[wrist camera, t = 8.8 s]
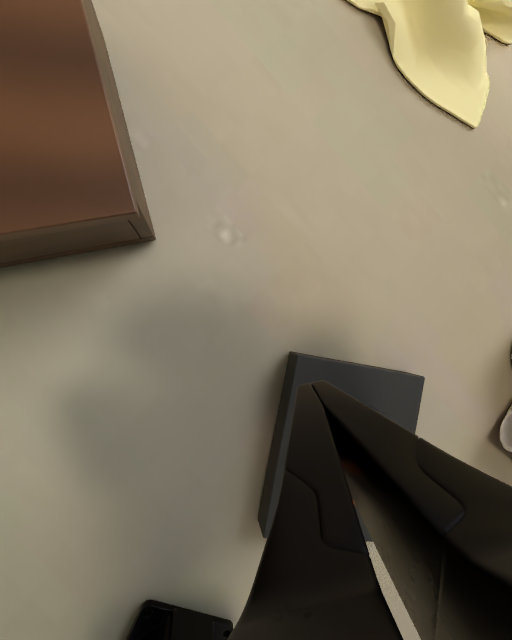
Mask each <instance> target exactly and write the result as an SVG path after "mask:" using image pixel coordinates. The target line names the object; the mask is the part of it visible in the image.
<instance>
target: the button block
mask: <svg viewBox="0 0 512 640" xmlns="http://www.w3.org/2000/svg"><path fill="white" fill-rule="evenodd" d="M424 379H425V378H424V377H423V376H419V375H415V374H411V373H407V372H402V371H396V370H390V369H385V368H379V367H374V366H368V365H363V364H357V363H352V362H346V361H340V360H335V359H329V358H324V357H318V356H313V355H307V354H302V353H296V352H290V353H289V358H288V363H287V368H286V373H285V379H284V384H283V389H282V395H281V400H280V405H279V410H278V416H277V421H276V426H275V432H274V437H273V442H272V448H271V453H270V458H269V463H268V469H267V474H266V479H265V485H264V490H263V495H262V501H261V506H260V511H259V516H258V522H259V525H260V528H261V532H262V535H263V537H264V538H268V535H269V531H270V528H271V525H272V521H273V518H274V514H275V510H276V507H277V503H278V498H279V493H280V488H281V483H282V477H283V471H284V466H285V459H286V453H287V447H288V441H289V435H290V428H291V422H292V416H293V410H294V404H295V397H296V391H297V387H298V386H299V385H303V384H307V383H309V384H311V383H312V382H316V381H320V380H325V381H327V382H328V383H330V384H332V385H333V386H335V387H337V388H338V389H340V390H342V391H343V392H345V393H347V394H348V395H350V396H352V397H353V398H355V399H357V400H358V401H360V402H362V403H363V404H365V405H367V406H368V407H370V408H372V409H373V410H375V411H377V412H378V413H380V414H382V415H383V416H385V417H387V418H388V419H390V420H392V421H393V422H395V423H397V424H398V425H400V426H402V427H403V428H405V429H407V430H408V431H410V432H412V433H413V434H415V431H416V425H417V419H418V414H419V408H420V402H421V397H422V391H423V385H424ZM354 506H355V509H356V512H357V516H358V519H359V522H360V526H361V529H362V532H363V535H364V539H365V541H373V540H372V538H371V536H370V534H369V532H368V530H367V528H366V526H365V524H364V522H363V520H362V518H361V516H360V514H359V512H358V510H357V507H356V505H355V504H354Z"/></svg>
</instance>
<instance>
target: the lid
mask: <svg viewBox="0 0 512 640" xmlns="http://www.w3.org/2000/svg"><path fill="white" fill-rule="evenodd" d="M139 218H140V214H139V210H138V207H137V203H136V199H135V195H134V191H133V187H132V184H131V180H130V176H129V172H128V168H127V165H126V161H125V157H124V153H123V149H122V145H121V142H120V138H119V134H118V130H117V126H116V122H115V119H114V115H113V111H112V107H111V103H110V99H109V96H108V92H107V88H106V84H105V80H104V76H103V73H102V69H101V65H100V61H99V57H98V54H97V50H96V46H95V42H94V38H93V34H92V31H91V27H90V23H89V19H88V15H87V11H86V8H85V4H84V0H0V241H6V240H12V239H18V238H24V237H30V236H37V235H43V234H49V233H55V232H61V231H67V230H73V229H79V228H85V227H91V226H97V225H103V224H109V223H115V222H121V221H127V220H133V219H139Z"/></svg>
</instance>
